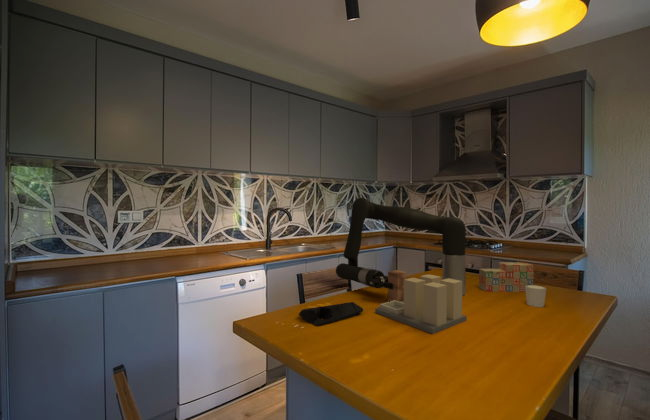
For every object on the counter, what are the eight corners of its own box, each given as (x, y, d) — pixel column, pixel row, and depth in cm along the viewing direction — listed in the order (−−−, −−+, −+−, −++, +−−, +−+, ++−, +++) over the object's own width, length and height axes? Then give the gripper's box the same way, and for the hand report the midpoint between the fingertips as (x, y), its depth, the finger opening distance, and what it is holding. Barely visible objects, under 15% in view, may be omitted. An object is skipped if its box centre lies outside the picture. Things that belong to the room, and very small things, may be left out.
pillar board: (409, 302, 128) (409, 269, 127) (466, 320, 108) (466, 280, 108) (375, 312, 116) (375, 275, 116) (432, 334, 97) (432, 289, 97)
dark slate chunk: (369, 317, 113) (369, 303, 113) (313, 329, 102) (313, 314, 102) (346, 305, 126) (346, 293, 126) (294, 314, 116) (294, 301, 116)
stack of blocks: (485, 291, 144) (485, 264, 144) (478, 288, 151) (479, 262, 150) (533, 292, 144) (534, 264, 143) (525, 288, 150) (525, 262, 150)
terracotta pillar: (396, 299, 133) (396, 270, 133) (406, 302, 129) (406, 272, 129) (388, 301, 130) (388, 271, 130) (397, 304, 126) (397, 273, 126)
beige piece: (527, 306, 123) (527, 288, 123) (523, 301, 130) (523, 284, 130) (548, 308, 121) (548, 289, 121) (543, 303, 127) (543, 285, 127)
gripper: (359, 271, 137) (387, 278, 124) (382, 267, 145) (411, 273, 132) (359, 288, 137) (387, 297, 124) (382, 283, 145) (411, 291, 132)
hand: (400, 285), depth 128 cm, fingers open, 8 cm apart
